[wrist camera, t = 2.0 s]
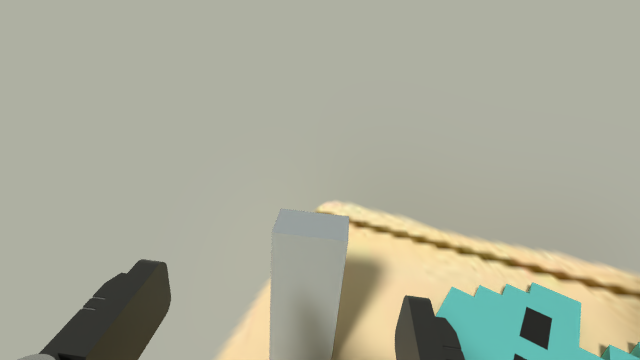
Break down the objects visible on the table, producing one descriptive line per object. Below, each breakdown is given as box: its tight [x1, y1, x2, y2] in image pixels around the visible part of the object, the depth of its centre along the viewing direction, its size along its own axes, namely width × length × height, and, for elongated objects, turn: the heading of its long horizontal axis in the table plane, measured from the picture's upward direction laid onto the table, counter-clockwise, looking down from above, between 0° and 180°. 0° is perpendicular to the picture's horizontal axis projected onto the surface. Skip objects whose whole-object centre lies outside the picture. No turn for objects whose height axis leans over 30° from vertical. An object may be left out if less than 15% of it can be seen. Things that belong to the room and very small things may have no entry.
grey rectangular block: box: [269, 209, 349, 360], centre depth 27 cm, size 5×3×13 cm, turn 85°
